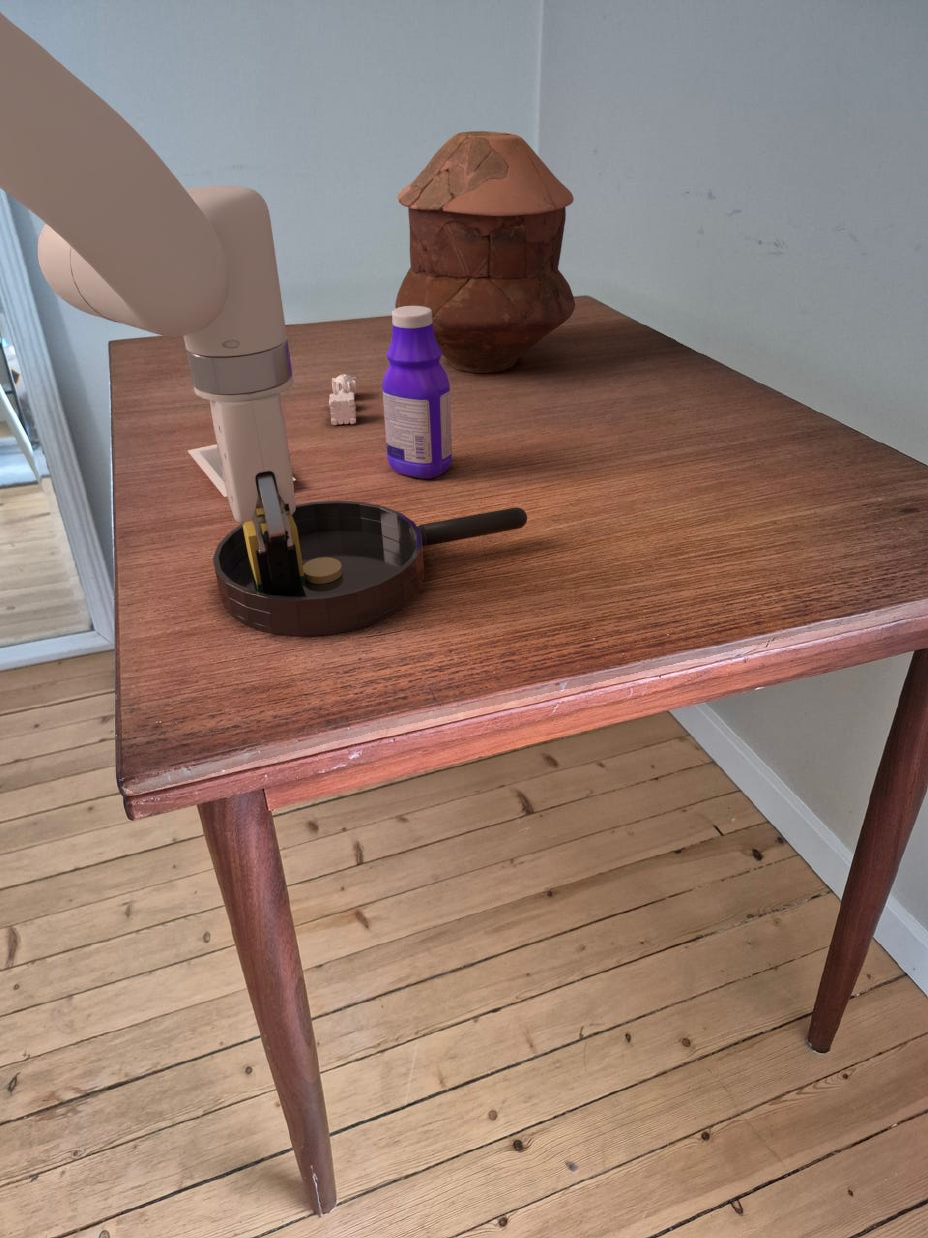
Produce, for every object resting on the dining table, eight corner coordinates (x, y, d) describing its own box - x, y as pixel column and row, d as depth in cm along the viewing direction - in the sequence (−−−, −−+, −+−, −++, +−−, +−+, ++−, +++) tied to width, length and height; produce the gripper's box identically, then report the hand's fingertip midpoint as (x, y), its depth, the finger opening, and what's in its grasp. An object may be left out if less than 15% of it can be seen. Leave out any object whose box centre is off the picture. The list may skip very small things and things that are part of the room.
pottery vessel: (383, 348, 140) (366, 130, 124) (538, 331, 145) (541, 120, 129) (420, 400, 119) (405, 146, 103) (600, 378, 124) (612, 133, 108)
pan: (233, 655, 71) (225, 618, 69) (211, 553, 85) (204, 520, 83) (450, 610, 75) (448, 573, 73) (394, 520, 90) (392, 488, 88)
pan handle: (416, 551, 81) (415, 532, 79) (410, 542, 82) (409, 522, 81) (530, 530, 83) (530, 510, 82) (522, 521, 85) (522, 502, 84)
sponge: (259, 595, 76) (247, 536, 73) (250, 565, 80) (239, 508, 77) (305, 586, 77) (296, 527, 74) (294, 557, 81) (285, 500, 78)
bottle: (462, 467, 100) (456, 306, 91) (433, 485, 96) (424, 320, 87) (408, 455, 104) (398, 299, 94) (379, 472, 100) (365, 312, 90)
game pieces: (357, 424, 112) (354, 399, 111) (330, 426, 112) (327, 401, 110) (358, 393, 122) (356, 370, 121) (334, 394, 122) (331, 371, 121)
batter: (306, 587, 78) (305, 579, 77) (299, 568, 81) (298, 561, 80) (346, 579, 79) (345, 571, 78) (337, 561, 82) (337, 553, 81)
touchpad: (226, 506, 94) (222, 487, 92) (189, 459, 105) (185, 441, 103) (297, 489, 97) (294, 470, 95) (253, 445, 108) (250, 427, 107)
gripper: (182, 343, 74) (222, 537, 84) (201, 410, 61) (246, 632, 70) (273, 332, 76) (301, 523, 86) (311, 394, 62) (339, 613, 72)
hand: (276, 570), depth 78 cm, fingers closed on sponge, 5 cm apart
